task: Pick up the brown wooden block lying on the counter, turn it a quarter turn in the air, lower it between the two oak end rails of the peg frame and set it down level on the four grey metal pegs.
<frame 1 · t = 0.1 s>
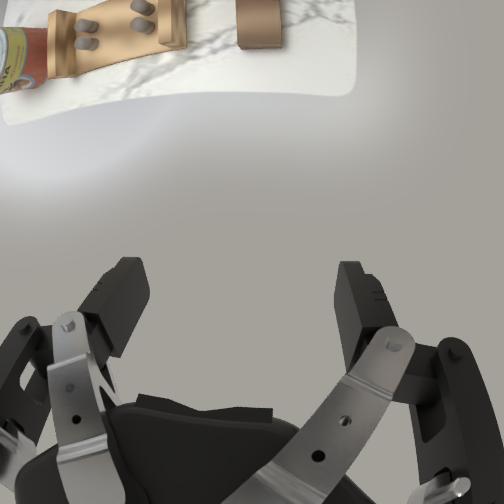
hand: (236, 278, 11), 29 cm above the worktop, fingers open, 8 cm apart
canned food: (37, 58, 29), on the worktop
peg frame: (122, 27, 28), on the worktop
brown wooden block: (259, 6, 26), on the worktop
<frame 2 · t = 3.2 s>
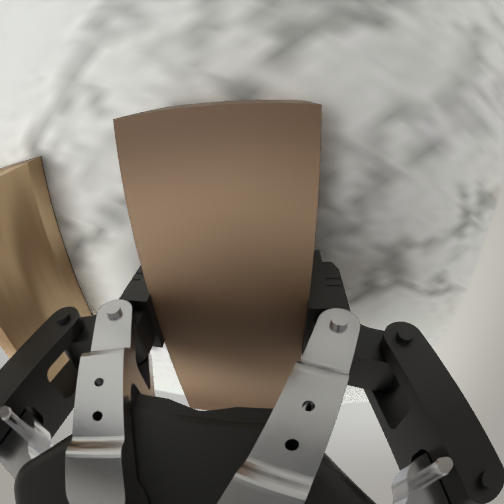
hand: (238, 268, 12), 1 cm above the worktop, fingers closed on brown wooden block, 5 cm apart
brown wooden block: (241, 257, 13), on the worktop, touching gripper
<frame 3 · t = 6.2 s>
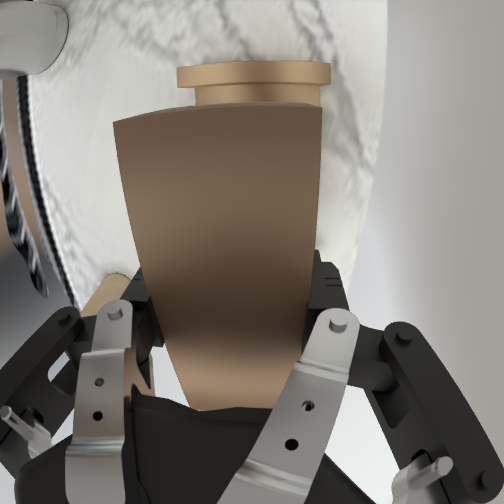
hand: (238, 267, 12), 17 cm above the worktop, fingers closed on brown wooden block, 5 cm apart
peg frame: (259, 165, 27), on the worktop
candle: (122, 288, 37), on the worktop
brown wooden block: (241, 258, 13), point 17 cm above the worktop, touching gripper
when the fingers open (6 cm above the worktop, at t = 9.5 s): brown wooden block stays where it is, resting on peg frame.
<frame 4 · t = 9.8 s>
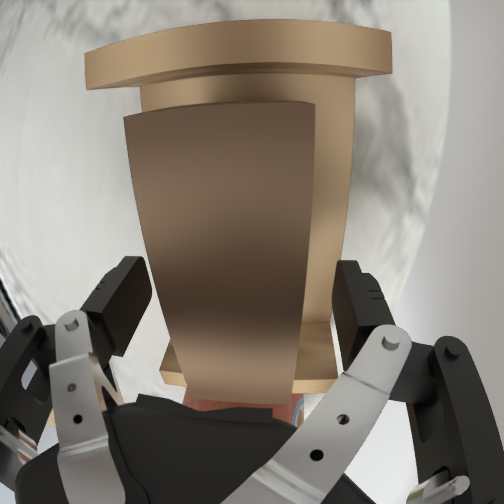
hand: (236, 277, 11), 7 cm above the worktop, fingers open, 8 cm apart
canned food: (246, 382, 27), on the worktop
peg frame: (250, 211, 17), on the worktop
brown wooden block: (241, 250, 13), point 4 cm above the worktop, touching peg frame
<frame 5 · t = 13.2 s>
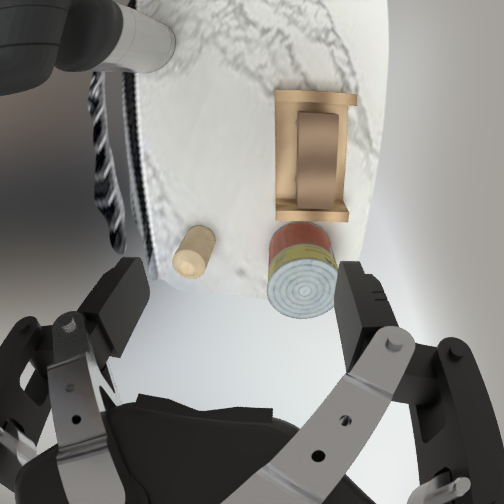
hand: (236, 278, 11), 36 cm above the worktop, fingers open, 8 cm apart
canned food: (300, 249, 52), on the worktop
peg frame: (310, 150, 43), on the worktop
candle: (200, 238, 53), on the worktop
brown wooden block: (314, 156, 39), point 4 cm above the worktop, touching peg frame
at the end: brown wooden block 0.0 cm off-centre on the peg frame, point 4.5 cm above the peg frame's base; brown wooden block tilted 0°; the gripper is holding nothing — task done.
